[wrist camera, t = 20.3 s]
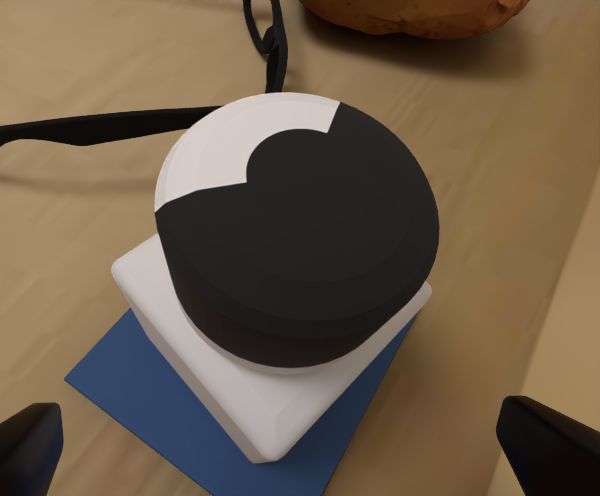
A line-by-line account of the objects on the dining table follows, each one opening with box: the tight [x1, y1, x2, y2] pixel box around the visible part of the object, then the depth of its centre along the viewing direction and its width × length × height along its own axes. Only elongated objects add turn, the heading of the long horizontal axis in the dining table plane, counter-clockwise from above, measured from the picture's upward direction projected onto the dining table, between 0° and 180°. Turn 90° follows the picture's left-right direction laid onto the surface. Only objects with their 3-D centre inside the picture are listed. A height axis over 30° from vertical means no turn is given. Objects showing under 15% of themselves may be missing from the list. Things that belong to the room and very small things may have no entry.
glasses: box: [0, 0, 288, 147], centre depth 24 cm, size 17×18×5 cm
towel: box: [64, 308, 417, 496], centre depth 19 cm, size 11×12×1 cm
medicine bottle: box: [111, 92, 439, 463], centre depth 13 cm, size 7×7×12 cm
